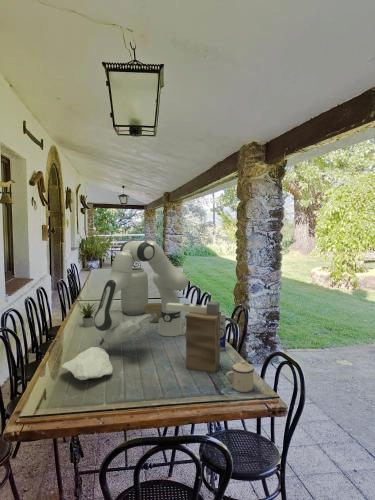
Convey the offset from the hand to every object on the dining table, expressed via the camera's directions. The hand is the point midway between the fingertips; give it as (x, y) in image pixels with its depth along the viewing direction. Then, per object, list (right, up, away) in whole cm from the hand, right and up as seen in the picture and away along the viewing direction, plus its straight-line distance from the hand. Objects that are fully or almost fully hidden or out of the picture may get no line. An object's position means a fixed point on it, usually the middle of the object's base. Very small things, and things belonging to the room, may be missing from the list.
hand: (151, 317), depth 188 cm
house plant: (-46, -16, +56) cm, 74 cm away
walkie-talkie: (-28, -19, +30) cm, 45 cm away
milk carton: (+35, -20, +14) cm, 43 cm away
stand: (+26, -22, -9) cm, 35 cm away
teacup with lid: (+40, -24, -31) cm, 57 cm away
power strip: (+21, +4, -7) cm, 22 cm away
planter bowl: (-4, -15, +69) cm, 70 cm away
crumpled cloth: (-28, -23, -17) cm, 40 cm away
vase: (-22, -13, +89) cm, 92 cm away
